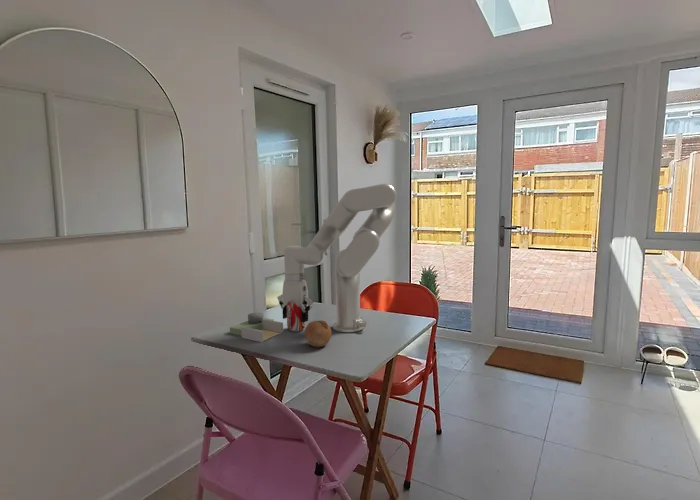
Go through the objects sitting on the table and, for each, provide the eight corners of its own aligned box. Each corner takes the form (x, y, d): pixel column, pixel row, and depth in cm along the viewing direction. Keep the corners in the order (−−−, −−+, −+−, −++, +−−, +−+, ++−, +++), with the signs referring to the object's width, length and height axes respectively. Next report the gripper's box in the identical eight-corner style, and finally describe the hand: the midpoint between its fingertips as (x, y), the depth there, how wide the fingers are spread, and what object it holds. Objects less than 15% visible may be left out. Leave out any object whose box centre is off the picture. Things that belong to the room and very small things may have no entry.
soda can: (301, 332, 151) (301, 302, 150) (284, 332, 153) (283, 302, 151) (307, 327, 158) (306, 298, 157) (290, 326, 159) (290, 297, 158)
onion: (329, 352, 138) (341, 328, 137) (311, 353, 131) (324, 328, 130) (312, 337, 144) (324, 314, 143) (294, 338, 137) (306, 313, 135)
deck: (292, 328, 156) (291, 315, 156) (261, 342, 141) (260, 327, 141) (259, 322, 166) (259, 309, 165) (227, 334, 151) (226, 320, 150)
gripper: (318, 277, 151) (318, 320, 153) (283, 273, 160) (284, 314, 162) (306, 281, 145) (306, 325, 147) (271, 276, 154) (272, 318, 156)
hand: (295, 319), depth 155 cm, fingers open, 9 cm apart
